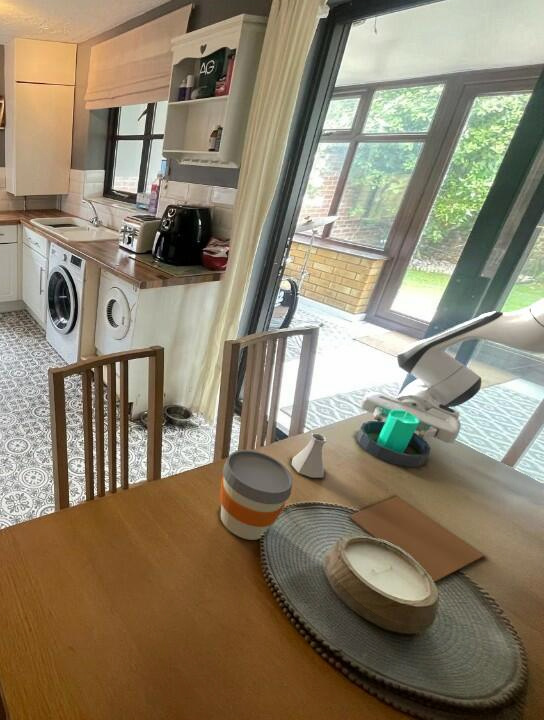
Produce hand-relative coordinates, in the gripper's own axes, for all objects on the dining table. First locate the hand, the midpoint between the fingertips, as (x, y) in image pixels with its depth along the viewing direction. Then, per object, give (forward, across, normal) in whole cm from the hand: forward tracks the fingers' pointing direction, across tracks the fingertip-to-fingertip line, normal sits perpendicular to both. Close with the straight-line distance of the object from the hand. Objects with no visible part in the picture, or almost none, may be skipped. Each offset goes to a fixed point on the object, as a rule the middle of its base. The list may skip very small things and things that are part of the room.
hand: (399, 427), depth 107 cm
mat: (+29, +11, +8) cm, 32 cm away
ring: (-1, 0, +8) cm, 8 cm away
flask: (+25, -11, +8) cm, 28 cm away
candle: (-1, 0, +8) cm, 8 cm away
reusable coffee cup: (+54, -13, +8) cm, 56 cm away
